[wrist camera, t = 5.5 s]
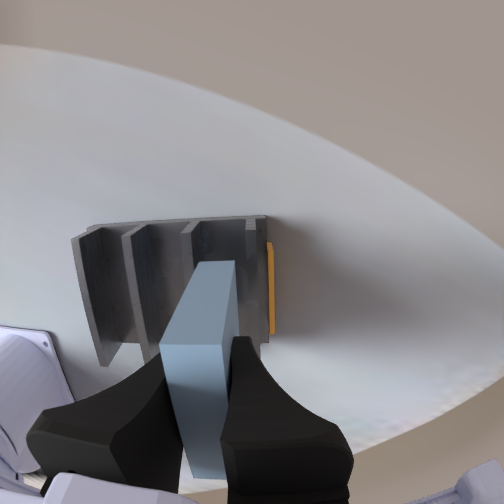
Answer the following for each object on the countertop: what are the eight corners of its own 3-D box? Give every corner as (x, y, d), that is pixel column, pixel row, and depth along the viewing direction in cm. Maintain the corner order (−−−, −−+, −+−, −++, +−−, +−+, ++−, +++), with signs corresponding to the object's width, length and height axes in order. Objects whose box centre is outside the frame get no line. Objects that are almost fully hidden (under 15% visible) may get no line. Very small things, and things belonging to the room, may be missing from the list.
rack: (272, 334, 21) (276, 369, 17) (114, 334, 21) (92, 365, 17) (270, 215, 19) (275, 228, 15) (93, 225, 19) (62, 239, 15)
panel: (241, 370, 16) (238, 479, 9) (211, 371, 16) (193, 478, 9) (234, 260, 14) (221, 344, 8) (199, 261, 14) (158, 344, 8)
